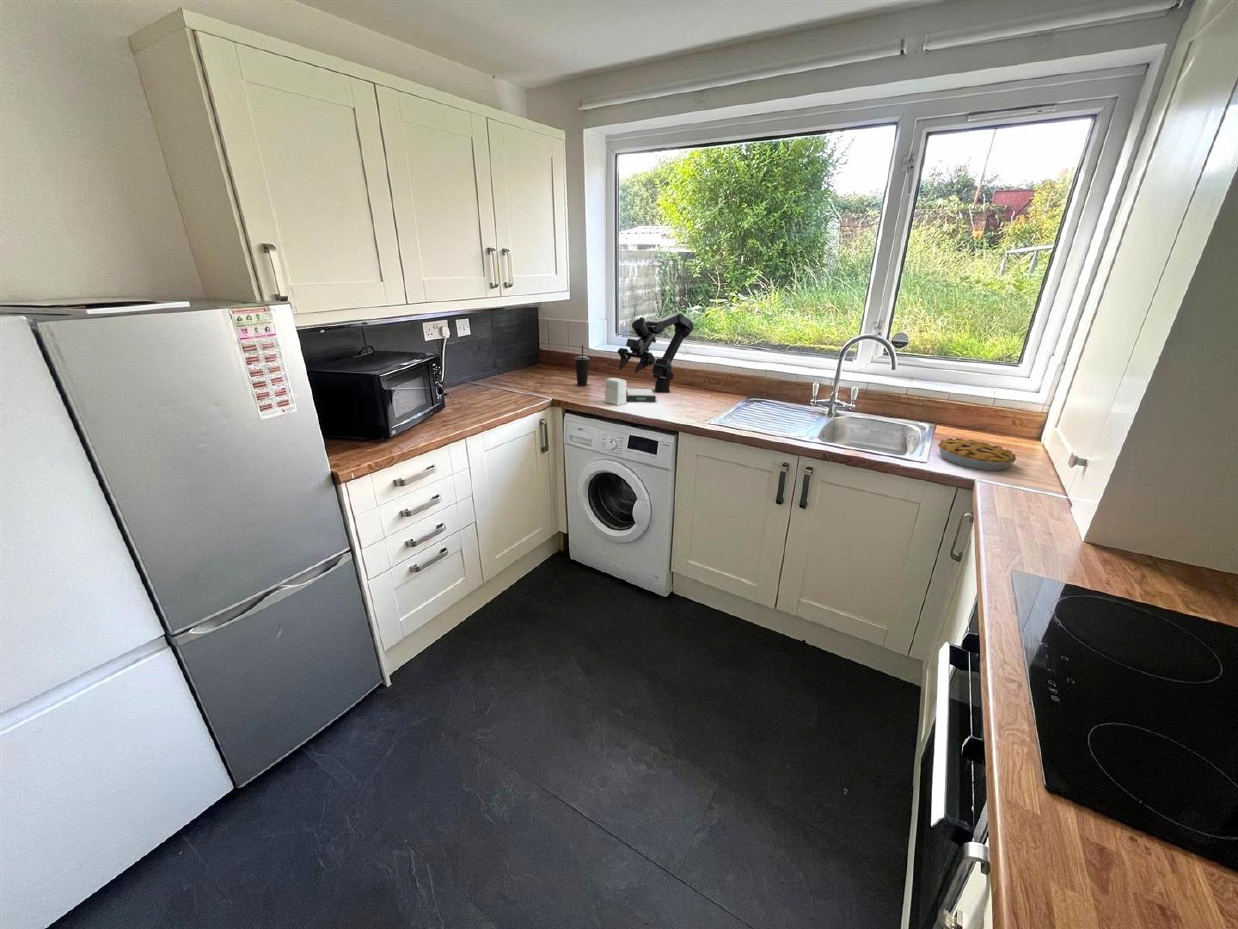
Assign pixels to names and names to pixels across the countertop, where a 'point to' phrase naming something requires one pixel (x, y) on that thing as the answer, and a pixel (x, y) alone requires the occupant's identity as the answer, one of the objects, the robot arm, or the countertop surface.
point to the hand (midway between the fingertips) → (627, 370)
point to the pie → (976, 454)
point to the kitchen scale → (640, 395)
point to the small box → (615, 391)
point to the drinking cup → (582, 369)
